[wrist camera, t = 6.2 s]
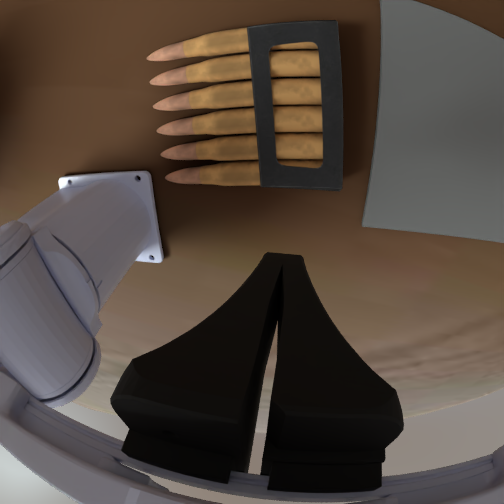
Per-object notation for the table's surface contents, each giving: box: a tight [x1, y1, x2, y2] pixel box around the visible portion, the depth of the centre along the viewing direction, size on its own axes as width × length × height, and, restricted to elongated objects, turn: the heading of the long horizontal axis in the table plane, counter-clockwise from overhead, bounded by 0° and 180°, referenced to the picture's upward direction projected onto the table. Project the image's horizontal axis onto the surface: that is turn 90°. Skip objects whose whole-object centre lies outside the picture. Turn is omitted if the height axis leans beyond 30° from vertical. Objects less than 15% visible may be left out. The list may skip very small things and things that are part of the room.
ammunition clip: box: [147, 20, 343, 191], centre depth 16 cm, size 11×2×12 cm
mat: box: [362, 0, 504, 243], centre depth 15 cm, size 15×17×1 cm
